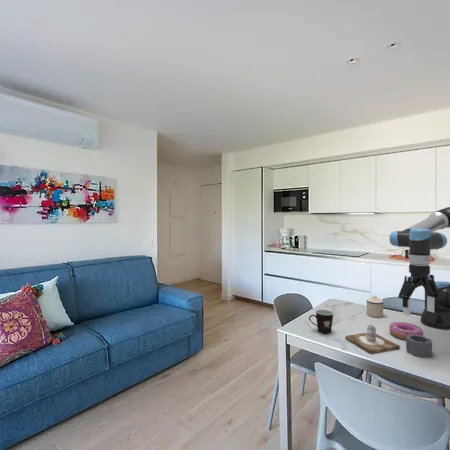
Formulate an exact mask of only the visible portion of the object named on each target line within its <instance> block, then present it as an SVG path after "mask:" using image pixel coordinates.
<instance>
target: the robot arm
mask: <svg viewBox="0 0 450 450" xmlns="http://www.w3.org/2000/svg"><path fill="white" fill-rule="evenodd" d="M445 228H446V229H447V228H448V229H449V228H450V206H447V207H444V208H442V209H438V210H436V211H434V212H432V213H431V214H429V216H428V217H427V218H425V219H423V220H421V221H419V222H418V223H415V224H413V225H412V226H410V227H408V228H406V229H404V230H397V231H396V230H393V231H392V232H390V234H389V238H388V239H389V243H390V244H391V246H394V247H399V248H400V247H401V248H409V249H408V250H409V253H408V254H409V255H408V263H409V264H408V268H409V269H408V272H409V274H410V276H407V275H405V276H404V280H403V282H402V286H401V289H400V291H399V293H398V296H397V298H399V299H402V300H401V301H402V308H403V309H402V314H403V315H405V316H408V317H411V300H410V298H411V296H412V295H413V293H414V292H415V290H416V289H417V288H419V287H423V289H424V290H423V291H424V308H423V311H422V313H421V315H420V322H421V324H423V325H425V326H427V327H430V328H434V329H440V330H450V282H449V281H435V276H434V275H433V274H431V266H430V265H431V250H439V249H443V248H445V246H446V245H447V244H448V238H447V236H446V235H445V234H444V233H442V232H438V231H439V230H443V229H445Z"/></svg>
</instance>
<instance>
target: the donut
mask: <svg viewBox="0 0 450 450" xmlns="http://www.w3.org/2000/svg"><path fill="white" fill-rule="evenodd" d="M389 333H390V334H391V335H392V336H393V337H395V338H397V339H400V340H403V341H406V335H411V334H415V335H421V336H424V329H422V327H421V326H418V325H416V324H413V323H411V322H406V321H405V322H403V321H395V322H391V323H389Z"/></svg>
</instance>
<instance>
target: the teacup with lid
mask: <svg viewBox="0 0 450 450" xmlns="http://www.w3.org/2000/svg"><path fill="white" fill-rule="evenodd" d="M365 301H366V315H367V316H369V317H371V318H377V319H380V318H383V317H384V303H385V302H384V300H383V299H380V298H378V296H377V295H372V297H369V298H366V300H365Z"/></svg>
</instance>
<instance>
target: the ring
mask: <svg viewBox="0 0 450 450" xmlns="http://www.w3.org/2000/svg"><path fill="white" fill-rule="evenodd" d="M405 343H406V344H405V349H406V353H408V354H411V355H412V356H414V357H419V358H422V359H423V358H424V359H427V358H431V357H432V358H433V341H432V339H431V338H429V337H426V336H424V335H423V336H421V335H415V334H411V335H406V340H405Z"/></svg>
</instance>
